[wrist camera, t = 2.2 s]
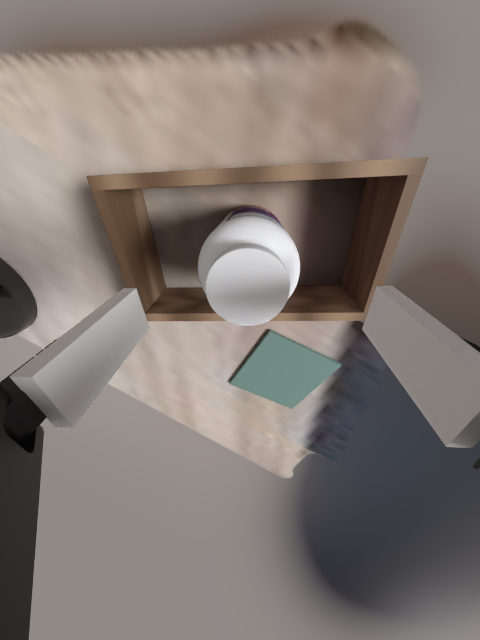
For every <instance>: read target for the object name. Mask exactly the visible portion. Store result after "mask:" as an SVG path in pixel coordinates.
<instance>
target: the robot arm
mask: <svg viewBox="0 0 480 640" xmlns="http://www.w3.org/2000/svg"><path fill="white" fill-rule="evenodd" d="M36 316H37V306H36V302H35V299H34V297H33V295H32V293H31V291H30V289H29V288H28V286H27V285H26V283H25V282H24V281H23V280H22V278H21V277H20V276H19V275H18V274H17V273H16V272H15V271H14V270H13V269H12V268H11V267H10V266H9V265H7V264H6V263H5V262H4V261H3V260H1V259H0V338H6V337H10V336H13V335H15V334H18V333H19V332H21V331H23V330H24V329H26V328H27V327H29V326H30V325H32V324H33V322H34V321H35V319H36ZM148 329H149V325H148V322H147V319H146V316H145V313H144V310H143V307H142V304H141V301H140V298H139V295H138V292H137V289H136V288H123V289H122V290H121V291H119V292H118V293H117V294H115V295H114V296H113V297H112V298H110V299H109V300H108V301H106V302H105V303H104V304H102V305H101V306H100V307H99V308H97V309H96V310H95V311H93V312H92V313H91V314H90V315H88V316H87V317H86V318H84V319H83V320H82V321H81V322H79V323H78V324H77V325H75V326H74V327H73V328H71V329H70V330H69V331H68V332H66V333H65V334H64V335H62V336H61V337H60V338H58V339H56V340H55V341H53V342H52V343H51V344H49V345H48V346H47V347H45V349H44V350H42V351H40V352H39V353H38V354H36V356H35V357H32V358H31V359H30V360H29V361H27V362H26V363H25V364H23V365H22V366H21V367H19V368H18V369H17V370H16V371H14V372H13V373H12V374H10V375H9V376H8V377H6V378H5V379H4V380H2V381H1V382H0V640H28V639H29V627H30V612H31V599H32V586H33V571H34V559H35V545H36V532H37V518H38V505H39V491H40V477H41V464H42V450H43V436H44V431H43V428H42V427H41V426H40V424H41V423H42V422H43V421H44V419H45V418H46V417H47V419H49V421H50V422H51V423H52V424H53V425H54V426H55V427H71V428H74V426H75V425H76V424H77V422H78V421H79V420H80V419H81V417H82V416H83V415H84V413H85V412H86V411H87V409H88V408H89V406H90V405H91V404H92V402H93V401H94V400H95V399H96V397H97V396H98V395H99V393H100V392H101V391H102V389H103V388H104V387H105V385H106V384H107V383H108V382H109V380H110V379H111V378H112V376H113V375H114V374H115V372H116V371H117V370H118V368H119V367H120V366H121V364H122V363H123V362H124V360H125V359H126V358H127V356H128V355H129V354H130V353H131V351H132V350H133V349H134V347H135V346H136V345H137V343H138V342H139V341H140V339H141V338H142V337H143V335H144V334H145V333H146V331H147V330H148ZM362 330H363V331H364V332H365V334H366V335H367V337H368V338H369V339H370V341H371V342H372V344H373V345H374V346H375V348H376V349H377V351H378V352H379V353H380V355H381V356H382V358H383V359H384V360H385V362H386V363H387V365H388V366H389V367H390V369H391V370H392V372H393V373H394V374H395V375H396V377H397V379H398V380H399V381H400V383H401V384H402V386H403V387H404V388H405V390H406V391H407V392H408V394H409V395H410V397H411V398H412V399H413V401H414V402H415V404H416V405H417V406H418V408H419V409H420V411H421V412H422V413H423V415H424V416H425V418H426V419H427V420H428V422H429V423H430V425H431V426H432V427H433V429H434V430H435V432H436V433H437V434H438V436H439V437H440V438H441V440H442V441H443V443H444V444H445V446H446V447H463V448H464V447H465V448H472V447H473V446H474V445H476V444H477V443H478V442H479V441H480V347H478V346H477V345H475V344H474V343H472V342H469V341H467V340H465V339H463V338H461V337H459V336H457V335H456V334H455V333H453V332H452V331H451V330H449V329H448V328H447V327H445V326H444V325H443V324H441V323H440V322H439V321H438V320H436V319H435V318H434V317H432V316H431V315H430V314H428V313H427V312H426V311H424V310H423V309H422V308H420V307H419V306H418V305H416V304H415V303H414V302H413V301H411V300H410V299H408V298H407V297H406V296H405V295H403V294H402V293H401V292H399V291H398V290H397V289H395V288H394V287H393V286H377V287H376V290H375V293H374V296H373V299H372V302H371V305H370V308H369V311H368V314H367V317H366V320H365V323H364V326H363V329H362ZM473 468H475V469H479V468H480V458H479V459H478V460H477V461H476V462H475V463H474V465H473Z"/></svg>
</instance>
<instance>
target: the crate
mask: <svg viewBox="0 0 480 640" xmlns="http://www.w3.org/2000/svg"><path fill="white" fill-rule="evenodd" d="M427 160H428V157H426V158H408V159H389V160H371V161H353V162H334V163H316V164H298V165H280V166H261V167H243V168H225V169H207V170H188V171H170V172H152V173H134V174H115V175H97V176H87V179H88V182H89V185H90V187H91V190H92V193H93V196H94V198H95V201H96V204H97V207H98V209H99V212H100V215H101V218H102V220H103V223H104V226H105V229H106V232H107V234H108V237H109V240H110V243H111V245H112V248H113V251H114V254H115V256H116V259H117V262H118V265H119V267H120V270H121V273H122V276H123V278H124V281H125V284H126V287H127V288H136V289H137V292H138V295H139V298H140V301H141V304H142V307H143V310H144V313H145V316H146V319H147V321H226V320H224V319H223V318H221V317H220V316H219V315H218V314H217V313H216V312H215V311H214V310H213V309H212V307H211V306H210V304H209V302H208V299H207V296H206V294H205V292H204V290H203V288H166V285H165V281H164V277H163V273H162V269H161V265H160V261H159V257H158V253H157V249H156V245H155V241H154V237H153V233H152V229H151V225H150V221H149V217H148V213H147V209H146V205H145V201H144V197H143V193H142V189H141V188H159V187H179V186H200V185H220V184H240V183H260V182H281V181H301V180H321V179H341V178H362V177H367V178H366V182H365V186H364V190H363V194H362V199H361V203H360V207H359V211H358V216H357V220H356V224H355V228H354V232H353V237H352V241H351V245H350V249H349V254H348V258H347V262H346V266H345V270H344V275H343V279H342V283H341V286H296V288H295V290H294V292H293V293H292V295H291V296H290V298H289V299H288V300H287V302H286V304H285V306H284V307H283V309H282V310H281V311H280V312H279V314H278V315H276V316H275V317H274V318H272V319H271V320H269V321H365V320H366V317H367V314H368V311H369V308H370V305H371V302H372V299H373V296H374V293H375V290H376V287H377V286H383V284H384V281H385V279H386V275H387V273H388V270H389V267H390V264H391V262H392V259H393V256H394V253H395V250H396V248H397V245H398V242H399V239H400V236H401V233H402V231H403V228H404V225H405V222H406V219H407V216H408V214H409V211H410V208H411V205H412V202H413V200H414V197H415V194H416V191H417V188H418V185H419V183H420V180H421V177H422V174H423V171H424V169H425V166H426V163H427Z"/></svg>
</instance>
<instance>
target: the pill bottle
mask: <svg viewBox="0 0 480 640" xmlns="http://www.w3.org/2000/svg"><path fill="white" fill-rule="evenodd" d="M299 274H300V259H299V254H298V251H297V248H296V246H295V244H294V242H293V240H292V239H291V237H290V236H289V234H288V233H287V232H286V230H285V229H284V228H283V226H282V225H281V223H280V222H279V220H278V219H277V218H276V217H275V216H274V215H273V214H272V213H271V212H270V211H268V210H267V209H264V208H262V207H259V206H252V205H249V206H243V207H239V208H237V209H235V210H233V211H232V212H230V213H229V214H228V215H227V216H226V217H225V218H224V219H223V220H222V221H221V223H220V224H219V225H218V226H217V227H216V228H215V229H214V230H213V232H212V233H211V234H210V235H209V236H208V238H207V239H206V241H205V242H204V244H203V246H202V248H201V251H200V254H199V259H198V275H199V280H200V283H201V286H202V288H203V290H204V292H205V294H206V296H207V299H208V302H209V304H210V306H211V307H212V309H213V310H214V311H215V312H216V313H217V314H218V315H219V316H220V317H221V318H223V319H224V320H226V321H228V322H230V323H233V324H236V325H241V326H254V325H259V324H262V323H265V322H267V321H269V320H271V319H272V318H274V317H275V316H276V315H278V314H279V312H280V311H281V310H282V309H283V307H284V306H285V304H286V302H287V300H288V299H289V298H290V296H291V295H292V293H293V292H294V290H295V288H296V285H297V283H298V279H299Z"/></svg>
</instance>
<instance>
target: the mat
mask: <svg viewBox="0 0 480 640" xmlns="http://www.w3.org/2000/svg"><path fill="white" fill-rule="evenodd" d="M339 367H341V363H339V362H337V361H335V360H333V359H331V358H329V357H327V356H325V355H322V354H320V353H318V352H316V351H314V350H312V349H310V348H308V347H306V346H304V345H302V344H299V343H297V342H295V341H293V340H291V339H289V338H287V337H285V336H283V335H281V334H278V333H276V332H274V331H272V330H270V329H269V331H268V332H267V333H266V335H265V336H264V337H263V339H262V340H261V341H260V343H259V344H258V345H257V347H256V348H255V349H254V351H253V352H252V353H251V355H250V356H249V357H248V358H247V360H246V361H245V362H244V364H243V365H242V366H241V368H240V369H239V370H238V372H237V373H236V374H235V376H234V377H233V378H232V380H231V381H230V384H231V385H233V386H236V387H238V388H241V389H244V390H246V391H249V392H251V393H254V394H256V395H259V396H261V397H264V398H266V399H269V400H271V401H274V402H276V403H279V404H282V405H284V406H287V407H289V408H294V407H295V406H296V405H297V404H298V403H299V402H300V401H302V400H303V399H304V398H305V397H306V396H307V395H308V394H310V393H311V392H312V391H313V390H314V389H315V388H316V387H318V386H319V385H320V384H321V383H322V382H323V381H324V380H326V379H327V378H328V377H329V376H330V375H331V374H332V373H334V372H335V371H336V370H337V369H338V368H339Z"/></svg>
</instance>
